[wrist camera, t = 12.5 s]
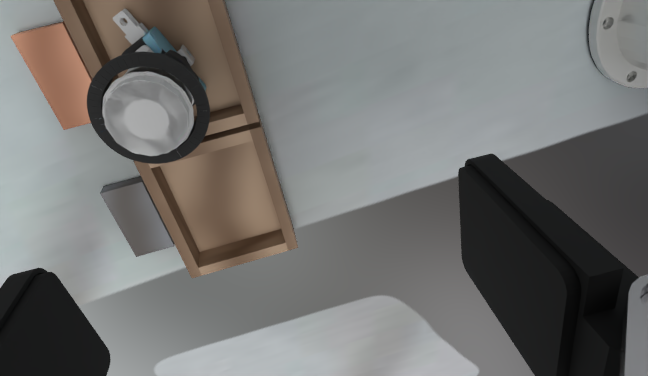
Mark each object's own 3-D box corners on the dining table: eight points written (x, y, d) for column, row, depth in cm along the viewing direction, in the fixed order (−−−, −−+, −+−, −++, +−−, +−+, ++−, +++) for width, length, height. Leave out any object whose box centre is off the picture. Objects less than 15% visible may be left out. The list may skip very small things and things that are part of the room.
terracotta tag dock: (206, -60, 25) (204, -60, 23) (257, 108, 31) (259, 121, 29) (-6, -9, 25) (-29, -4, 22) (85, 154, 30) (74, 171, 28)
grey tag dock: (258, 113, 31) (261, 126, 29) (293, 229, 36) (298, 247, 34) (88, 159, 30) (77, 176, 28) (150, 270, 36) (145, 291, 34)
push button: (89, 36, 26) (22, 83, 18) (158, -18, 25) (122, 2, 17) (169, 120, 29) (145, 193, 21) (231, 74, 29) (233, 129, 20)
